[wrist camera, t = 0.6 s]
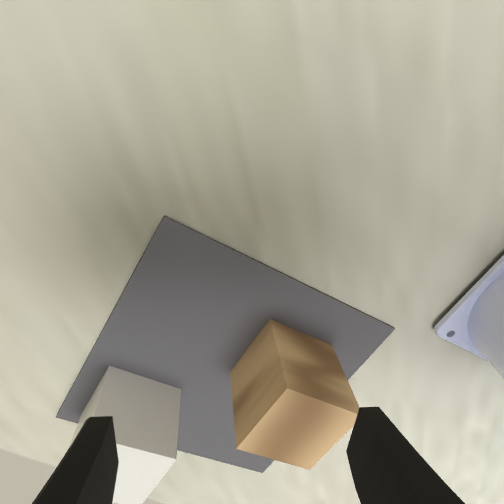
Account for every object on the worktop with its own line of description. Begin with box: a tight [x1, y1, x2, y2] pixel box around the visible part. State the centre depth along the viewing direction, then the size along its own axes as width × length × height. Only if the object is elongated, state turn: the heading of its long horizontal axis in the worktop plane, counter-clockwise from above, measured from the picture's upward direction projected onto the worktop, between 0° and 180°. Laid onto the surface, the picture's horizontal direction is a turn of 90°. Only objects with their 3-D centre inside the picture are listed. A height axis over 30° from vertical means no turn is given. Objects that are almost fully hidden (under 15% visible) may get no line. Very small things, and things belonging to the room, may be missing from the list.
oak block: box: [230, 319, 359, 470], centre depth 20 cm, size 4×4×5 cm
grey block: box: [70, 366, 181, 504], centre depth 21 cm, size 4×4×4 cm
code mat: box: [56, 216, 395, 473], centre depth 23 cm, size 15×15×1 cm
